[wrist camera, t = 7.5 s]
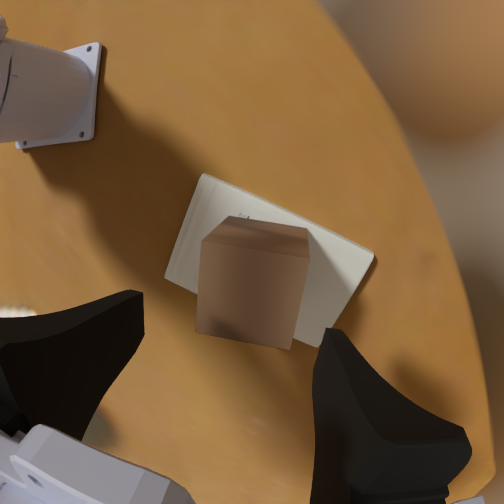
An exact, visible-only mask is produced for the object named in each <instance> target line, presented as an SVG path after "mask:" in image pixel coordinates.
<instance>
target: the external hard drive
mask: <svg viewBox="0 0 504 504" xmlns="http://www.w3.org/2000/svg"><path fill="white" fill-rule="evenodd" d="M228 216H235V217H241V218H248V219H254V220H260V221H267V222H273V223H279V224H285V225H291V226H297V227H303V228H307V233H308V244H309V254H310V261H309V266H308V271H307V276H306V281H305V286H304V290H303V295H302V300H301V304H300V309H299V314H298V318H297V323H296V327H295V331H294V336H293V338H294V339H297V340H299V341H301V342H304V343H306V344H308V345H311V346H313V347H316V348H318V347H319V346H320V344H321V342H322V339H323V336H324V332H325V329H326V328H332V326H333V325H334V323H335V322H336V320H337V319H338V317H339V315H340V314H341V312H342V311H343V309H344V308H345V306H346V304H347V303H348V301H349V300H350V298H351V296H352V295H353V293H354V291H355V290H356V288H357V286H358V285H359V283H360V281H361V280H362V278H363V276H364V275H365V273H366V271H367V269H368V268H369V266H370V264H371V262H372V260H373V258H374V253H373V252H372V251H371V250H369V249H367V248H365V247H363V246H361V245H359V244H357V243H355V242H353V241H351V240H349V239H347V238H345V237H343V236H341V235H339V234H337V233H335V232H333V231H331V230H329V229H327V228H325V227H323V226H321V225H319V224H317V223H315V222H312V221H310V220H308V219H306V218H304V217H302V216H300V215H298V214H296V213H294V212H292V211H289V210H287V209H285V208H283V207H281V206H279V205H277V204H274V203H272V202H270V201H268V200H266V199H264V198H261V197H259V196H257V195H255V194H252V193H250V192H248V191H246V190H244V189H241V188H239V187H237V186H234V185H232V184H230V183H228V182H225V181H223V180H221V179H218V178H216V177H214V176H211V175H209V174H207V173H203V174H202V175H201V177H200V179H199V181H198V184H197V186H196V189H195V192H194V194H193V197H192V199H191V202H190V205H189V208H188V210H187V213H186V216H185V218H184V221H183V224H182V227H181V229H180V232H179V235H178V237H177V240H176V243H175V246H174V249H173V252H172V255H171V258H170V261H169V263H168V266H167V269H166V272H165V277H164V278H165V279H167V280H169V281H171V282H173V283H175V284H177V285H179V286H181V287H183V288H185V289H187V290H189V291H191V292H193V293H195V294H197V292H198V277H199V263H200V250H201V240H202V239H204V238H205V237H206V236H207V235H208V234H209V233H210V232H211V231H212V230H213V229H215V228H216V227H217V226H218V225H219V224H220V223H221V222H222V221H223V220H224V219H226V218H227V217H228Z"/></svg>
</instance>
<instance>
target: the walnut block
mask: <svg viewBox="0 0 504 504" xmlns="http://www.w3.org/2000/svg"><path fill="white" fill-rule="evenodd" d="M309 261H310V254H309V244H308V233H307V228H303V227H297V226H291V225H285V224H279V223H273V222H267V221H260V220H254V219H248V218H241V217H235V216H228V217H227V218H226V219H224V220H223V221H222V222H221V223H220V224H219V225H218V226H217V227H216V228H215V229H213V230H212V231H211V232H210V233H209V234H208V235H207V236H206V237H205V238H204V239H202V240H201V250H200V263H199V277H198V292H197V309H196V328H195V332H198V333H202V334H207V335H211V336H216V337H221V338H226V339H231V340H236V341H241V342H246V343H252V344H257V345H263V346H269V347H274V348H280V349H286V350H290V349H291V344H292V340H293V336H294V331H295V327H296V323H297V318H298V314H299V309H300V304H301V300H302V295H303V290H304V286H305V281H306V276H307V271H308V266H309Z"/></svg>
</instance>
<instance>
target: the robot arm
mask: <svg viewBox="0 0 504 504" xmlns="http://www.w3.org/2000/svg"><path fill="white" fill-rule="evenodd" d="M7 32H8V27H7V26H6V21H5V18H4V17H2V16H0V143H5V142H16V148H17V149H24V148H31V147H37V146H44V145H52V144H60V143H68V142H77V141H87V140H91V139H92V138H93V136H94V126H95V108H96V95H97V83H98V74H99V65H100V57H101V50H102V45H101V43H99V42H94V43H90V44H86V45H83V46H79V47H76V48H73V49H69V50H66V51H63V52H62V51H58V50H55V49H51V48H48V47H44V46H40V45H36V44H32V43H28V42H24V41H20V40H16V39H11V38H7V37H5V36H6V34H7ZM91 47H92V49H91V51H89V50H90V48H91ZM83 132H84V136H83V137H82V133H83ZM26 141H27V144H26ZM144 335H145V333H144V307H143V292H139V291H135V290H131V289H129V290H125V291H122V292H118V293H115V294H112V295H110V296H107V297H104V298H101V299H98V300H96V301H93V302H90V303H87V304H83V305H80V306H77V307H74V308H71V309H67V310H63V311H59V312H54V313H49V314H44V315H36V316H28V317H13V318H0V504H196V503H195V502H194V500H193V499H192V497H191V495H190V494H189V492H188V491H187V490H186V489H185V488H184V487H182V486H181V485H179V484H178V483H176V482H175V481H173V480H172V479H170V478H169V477H166V476H164V475H162V474H159V473H157V472H155V471H152V470H150V469H148V468H145V467H142V466H140V465H137V464H134V463H131V462H129V461H126V460H123V459H121V458H118V457H116V456H113V455H111V454H108V453H106V452H104V451H101V450H99V449H97V448H94V447H92V446H90V445H88V444H86V443H84V442H81V441H82V438H83V436H84V433H85V431H86V429H87V427H88V425H89V423H90V421H91V419H92V417H93V415H94V413H95V411H96V409H97V407H98V405H99V403H100V401H101V400H102V398H103V396H104V395H105V393H106V392H107V390H108V389H109V387H110V386H111V385H112V383H113V382H114V380H115V379H116V378H117V376H118V375H119V374H120V372H121V371H122V370H123V369H124V367H125V366H126V365H127V363H128V362H129V360H130V359H131V358H132V356H133V355H134V354H135V352H136V350H137V348H138V347H139V345H140V343H141V341H142V339H143V337H144ZM312 397H313V411H314V425H315V459H314V471H313V480H312V489H311V496H310V504H446V502H445V498H447V497H448V496H449V490H448V486H447V485H448V484H449V483H450V482H451V481H452V480H453V479H454V478H455V477H456V476H457V475H458V474H459V473H460V472H461V471H462V470H463V469H464V467H465V466H466V465H467V463H468V462H469V460H470V458H471V455H472V447H471V445H470V442H469V440H468V438H467V435H466V433H465V431H464V428H463V427H460V426H458V425H456V424H453V423H451V422H448V421H446V420H444V419H441V418H439V417H437V416H435V415H434V414H432V413H430V412H428V411H426V410H424V409H423V408H421V407H420V406H418V405H416V404H415V403H413V402H412V401H410V400H409V399H408V398H406V397H405V396H403V395H402V394H401V393H399V392H398V391H397V390H396V389H395V388H393V387H392V386H391V385H390V384H389V383H388V382H386V381H385V380H384V379H383V378H382V377H381V376H380V375H379V374H378V373H377V372H376V371H375V370H374V369H373V368H372V367H371V365H370V364H369V363H368V362H367V361H366V360H365V359H364V357H363V356H362V355H361V354H360V353H359V351H358V350H357V349H356V348H355V346H354V345H353V344H352V342H351V341H350V340H349V339H348V337H347V336H346V335H345V333H344V332H343V331H342V330H340V329H333V328H326V329H325V332H324V336H323V339H322V342H321V346H320V349H319V352H318V356H317V359H316V362H315V366H314V369H313V383H312ZM451 504H485V502H484V499H483V496H477V497H473V498H469V499H464V500H460V501H457V502H454V503H451Z"/></svg>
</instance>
